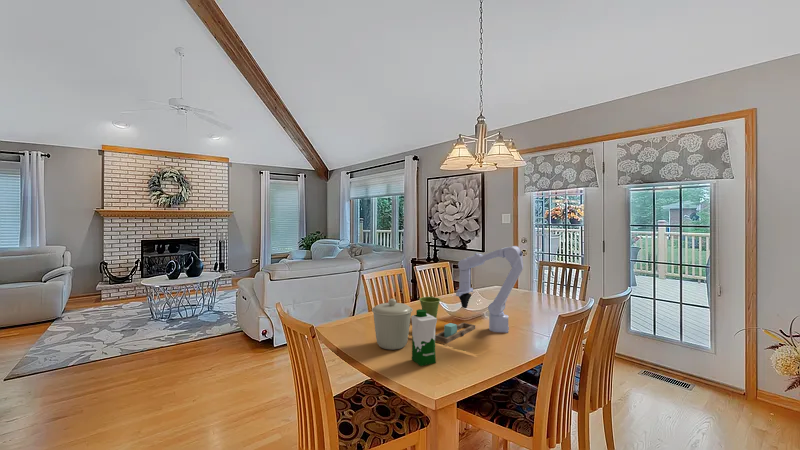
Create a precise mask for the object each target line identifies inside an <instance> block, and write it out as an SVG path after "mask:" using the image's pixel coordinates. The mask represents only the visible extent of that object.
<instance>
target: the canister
mask: <svg viewBox="0 0 800 450" xmlns="http://www.w3.org/2000/svg"><path fill="white" fill-rule="evenodd" d="M413 310H414V309H413V308H412V307H411V306H410V305H408V304H406V303H402V302H397V300H396V299H395V298H390V299H388V302H384V303H383V302H382V303H379V304H376V305H375V306H373V307H372V308H371V311H372V314H373V321H374V322H373V323H374V332H375V338H376V343H377V345H378V346H379V347H380V348H382V349H385V350H389V351H390V350H391V351H392V350H399V349H403V348H405V346H406V345H407V343H408V340H409V333H410V325H411V316H412V315H411V314H412V312H413Z"/></svg>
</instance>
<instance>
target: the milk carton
mask: <svg viewBox="0 0 800 450" xmlns="http://www.w3.org/2000/svg"><path fill="white" fill-rule="evenodd" d="M415 313H416V314H414V315H411V318H410V320H411V326H412V327H411V328H412V330H411V332H412V334H411V336H412V337H411V360H412V361H413V362H414V363H416V364H417V365H418V366H420V367H423V366H428V365H432V364H437V363H436V362H437V360H436V359H437V358H436V356H437V355H436V340H435V335H436V327H437V321H438V318H437V317H436V318H435V317H434V316H431V315H429V314H426V310H423V309H422V308H420V309H416V311H415Z"/></svg>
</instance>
